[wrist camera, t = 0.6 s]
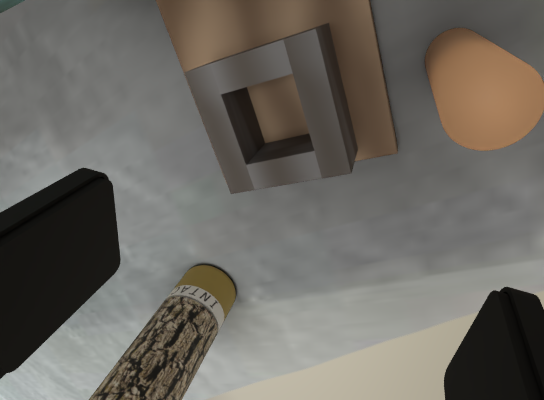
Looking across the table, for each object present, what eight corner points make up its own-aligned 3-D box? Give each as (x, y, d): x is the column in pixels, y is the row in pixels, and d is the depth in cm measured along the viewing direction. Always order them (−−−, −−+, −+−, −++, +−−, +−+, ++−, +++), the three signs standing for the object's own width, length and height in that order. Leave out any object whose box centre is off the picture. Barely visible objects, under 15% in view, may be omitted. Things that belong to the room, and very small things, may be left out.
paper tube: (240, 310, 47) (111, 566, 26) (191, 302, 49) (34, 535, 28) (234, 265, 44) (81, 516, 23) (181, 258, 46) (-3, 485, 25)
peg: (482, 19, 27) (544, 44, 15) (487, 77, 28) (547, 140, 16) (421, 37, 28) (433, 72, 16) (428, 91, 30) (445, 157, 18)
